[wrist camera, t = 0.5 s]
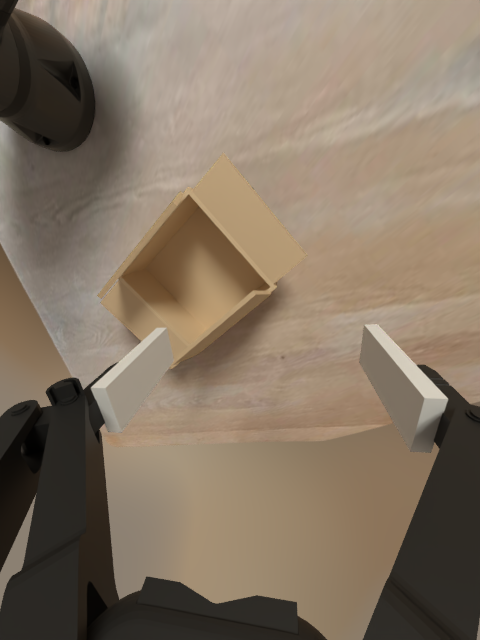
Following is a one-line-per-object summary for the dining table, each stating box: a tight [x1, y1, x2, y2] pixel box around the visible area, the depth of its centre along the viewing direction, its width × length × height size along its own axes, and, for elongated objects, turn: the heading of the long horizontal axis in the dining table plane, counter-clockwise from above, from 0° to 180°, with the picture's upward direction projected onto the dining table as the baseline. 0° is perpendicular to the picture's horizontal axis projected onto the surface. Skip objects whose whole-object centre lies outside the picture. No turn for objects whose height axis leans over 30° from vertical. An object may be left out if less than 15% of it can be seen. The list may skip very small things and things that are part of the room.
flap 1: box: [97, 191, 184, 299], centre depth 31 cm, size 1×16×7 cm, turn 133°
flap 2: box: [171, 290, 271, 366], centre depth 34 cm, size 1×16×7 cm, turn 134°
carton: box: [100, 153, 308, 369], centre depth 40 cm, size 18×30×8 cm, turn 133°
